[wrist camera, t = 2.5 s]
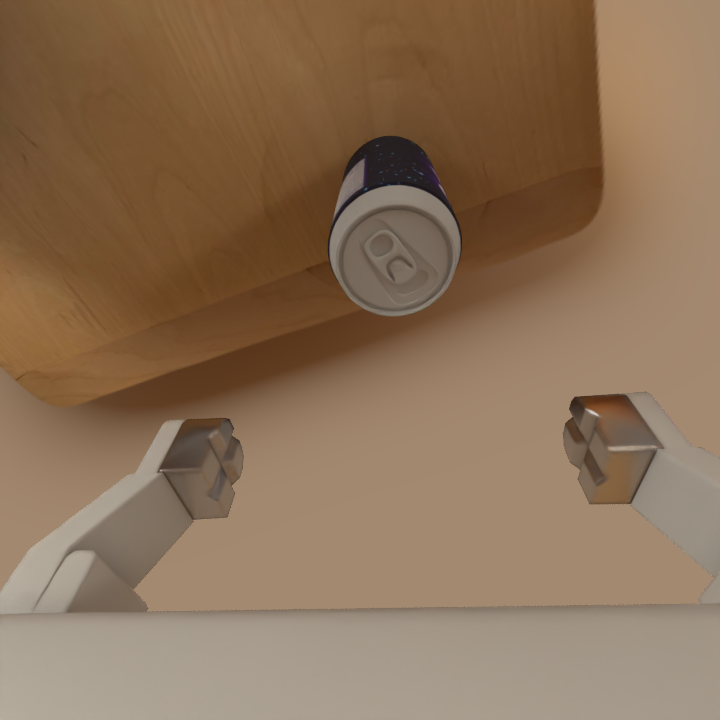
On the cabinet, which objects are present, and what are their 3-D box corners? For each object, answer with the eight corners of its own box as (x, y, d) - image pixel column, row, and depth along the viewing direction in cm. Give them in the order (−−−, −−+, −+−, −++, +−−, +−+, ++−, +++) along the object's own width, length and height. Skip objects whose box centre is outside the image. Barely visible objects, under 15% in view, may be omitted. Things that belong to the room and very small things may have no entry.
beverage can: (379, 244, 29) (381, 345, 19) (325, 175, 26) (295, 252, 16) (451, 191, 26) (493, 276, 17) (399, 110, 24) (414, 156, 14)
